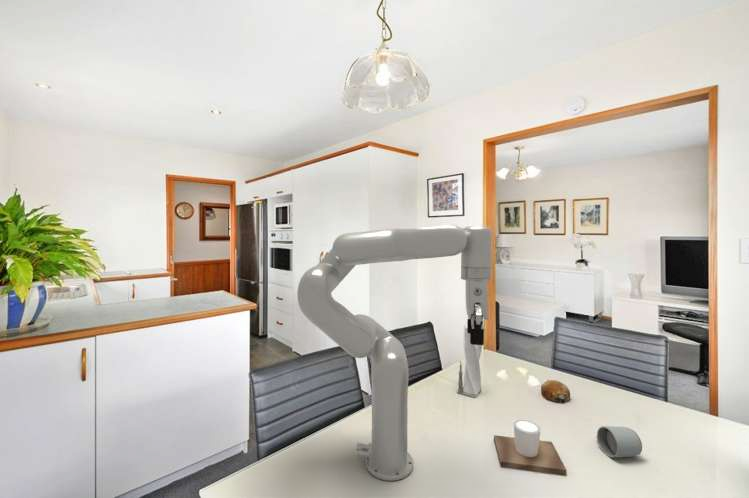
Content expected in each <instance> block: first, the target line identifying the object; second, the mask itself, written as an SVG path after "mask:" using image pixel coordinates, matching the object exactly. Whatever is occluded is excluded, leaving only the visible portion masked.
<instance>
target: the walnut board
mask: <svg viewBox="0 0 749 498" xmlns="http://www.w3.org/2000/svg"><path fill="white" fill-rule="evenodd" d="M493 443H494V447H495V451H496V455H497V459H498V463H499V466H500V468H504V469H505V468H506V469H513V470H521V471H529V472H535V473H542V474H550V475H557V476H558V475H559V476H566V477H567V471H568V470H567V468H566V467H565V465H564V462H563V461H562V459H561V457H560V455H559V453H558V451H557V449H556V448H555V446H554V445H555V444H553V442H552V441H550V440H549V441H547V440H540V439H539V446H538V454H537V455H536V456H534V457H527V456H524V455H521V454H520V453H518V452H517V450H516V447H515V436H513V437H512V436H504V435H496V434H495V435H493Z"/></svg>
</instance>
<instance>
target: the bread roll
mask: <svg viewBox="0 0 749 498" xmlns="http://www.w3.org/2000/svg"><path fill="white" fill-rule="evenodd" d="M540 385H541V386H540V387H541V388H540V391H541V395H542V397H543V399H545V400H547V401H549V402H554V403H557V404H563V403H567V402H568V401H569V400H570V399H571V392H570V390H569V389H570V388H569V387H568V386H567V385H566V384H565V383H562V382H561V381H559V380H555V379H554V380H553V379H547V381H545V382H543V383H542V384H540Z"/></svg>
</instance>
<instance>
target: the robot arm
mask: <svg viewBox="0 0 749 498" xmlns="http://www.w3.org/2000/svg"><path fill="white" fill-rule="evenodd" d="M492 234H493V233H492V230H491V228H490V227H489V226H481V225H477V226H465V227H460V226H458V225H455V224H447V225H437V226H428V227H417V228H416V227H415V228H389V229H388V228H387V229H386V228H385V229H378V230H369V231H368V230H367V231H359V232H349V233H343V234H339V235H338V236H337V237H336V238H335V240H334V241H333V243H332V247H331V249H330V250H329V251H328V252H327V253H326V255H325V256H324V257H323V258H322V259H321V260H320V261H319V262H318V263H317V264H316V265H315V266H312V267H310V268H309V269H307V270H306V271H305V272H304V274H303V275H302V276H301V278H300V279H299V282H298V286H297V287H298V288H297V293H296V294H297V295H296V296H297V303H298V306H299V309H300V310H301V312H302V313H303V315H304V316H305V317H306V319H307V320H308V321H309V322H311V324H313V325H314V326H316V327H317V328H318V329H319V330H320V331H321V332H323V333H324V334H325V335H326V337H328V338H329V339H331V340H332V341H333V342H334V343H335V344H336V345H337V346H339V347H340V348H341V349H342V350H344V351H345V352H346V353H347V354H348V355H350V357H351V356H352V357H353V358H357V359H363V358H366V357H368V358H370V360H371V369H370V370H371V373H370V375H371V377H370V378H371V443H363V442H362V443H361V442H357V444H356V449H355V450H356V451H357V452H358V457H363V458H365V457H366V458H365V467H366V470H367V471H368V472H369V474H371V475H372V476H374V477H375V478H377V479H379V480H383V481H386V482H387V481H388V482H390V481H391V482H394V481H398V480H402V479H404V478H406V477H408V476H409V475H410V474H411V472H412V471H413V468H414V459H413V457H412V455H411V454H410V453H409V452H408V414H409V413H408V410H409V409H408V405H409V403H408V398H409V397H408V396H409V394H408V392H409V391H408V390H409V380H410V379H409V378H410V377H409V375H410V374H409V372H410V371H409V369H410V368H409V362H408V359H407V355H406V350H405V347H404V345H403V343H402V342H401V341H400V340H399V339H398V338H396V337H395V336H394V335H393V334H392V333H391V332H390V331H388V330H387V329H385V327H383V326H382V325H381V324H380V323H378V322H377V321H376V320H375V319H374V318H372V317H370V316H368V315H366V314H362V313H360V314H353V313H352V312H351V311H350V310H349V309H347V307H345V306H344V305H343V304H341V303H339V302H338V301H336V300H335V298H333V295H332V293H333V291H334V290H335V289H336V288H338V286H339V285H340V283H341V282H342V281H343V280H344V279H345V278H346V277H347V275H349V273H351V271H352V270H353V269H354V267H355V266H357V265H359V266H360V265H368V264H378V263H379V264H380V263H390V262H392V263H393V262H403V261H409V260H423V259H425V260H426V259H434V258H435V259H436V258H444V257H446V258H447V257H453V256H457V255H459V254H460V256H461V257H460V260H461V261H460V262H461V263H460V266H461V267H460V271H461V272H460V279H461V280H463V281H465V308H466V309H465V311H466V314H467V322H466V323H467V324H466V326H467V332H468V333H470V344H472V345H482V346H484V343H485V328H484V320H485V321H488V319H489V286H488V281H489V282H490V281H491V280H492V245H493V244H492V240H493V239H492V237H493V236H492Z"/></svg>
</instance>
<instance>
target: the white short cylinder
mask: <svg viewBox="0 0 749 498" xmlns="http://www.w3.org/2000/svg"><path fill="white" fill-rule="evenodd" d="M513 431H514V432H513V433H514V438H515V447H516V450H517V452H518V453H520V454H521V455H524V456H527V457H534V456H536V455H537V454H538V446H539V440H540V437H541V426H539V425H538V424H537V423H536V422H533V421H530V420H526V419H517V420H515V421H514V422H513Z"/></svg>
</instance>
